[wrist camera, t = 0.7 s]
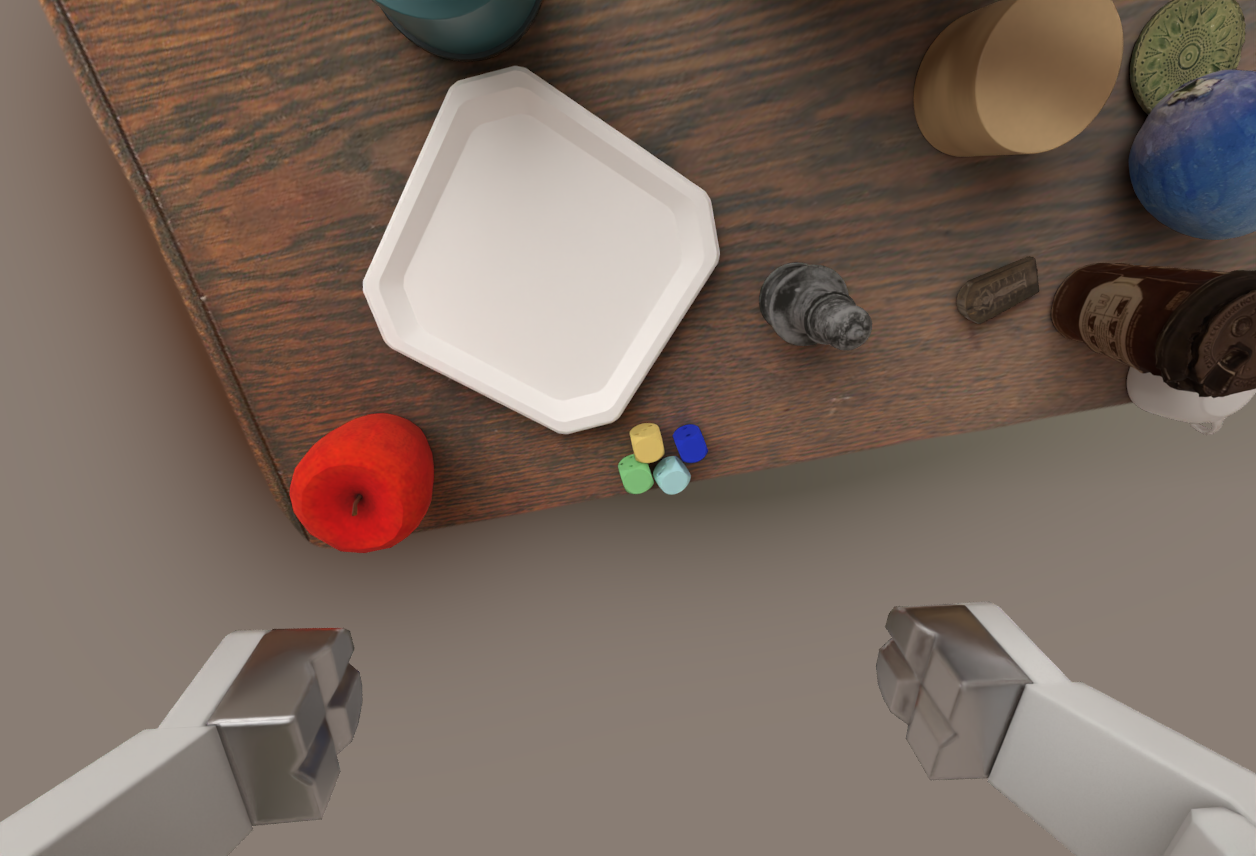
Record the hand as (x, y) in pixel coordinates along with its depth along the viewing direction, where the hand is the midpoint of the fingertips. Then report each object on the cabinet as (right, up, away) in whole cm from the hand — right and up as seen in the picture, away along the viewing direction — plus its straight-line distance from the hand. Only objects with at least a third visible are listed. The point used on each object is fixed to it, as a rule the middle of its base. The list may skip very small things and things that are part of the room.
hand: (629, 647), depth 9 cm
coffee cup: (+37, +14, +40) cm, 56 cm away
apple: (-19, +2, +39) cm, 44 cm away
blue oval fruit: (+34, +28, +28) cm, 53 cm away
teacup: (+48, +5, +38) cm, 62 cm away
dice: (+5, -1, +41) cm, 42 cm away
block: (+29, +14, +37) cm, 49 cm away
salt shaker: (+13, +14, +37) cm, 42 cm away
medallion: (+39, +29, +33) cm, 59 cm away
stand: (+24, +27, +33) cm, 49 cm away
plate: (-6, +15, +35) cm, 38 cm away
